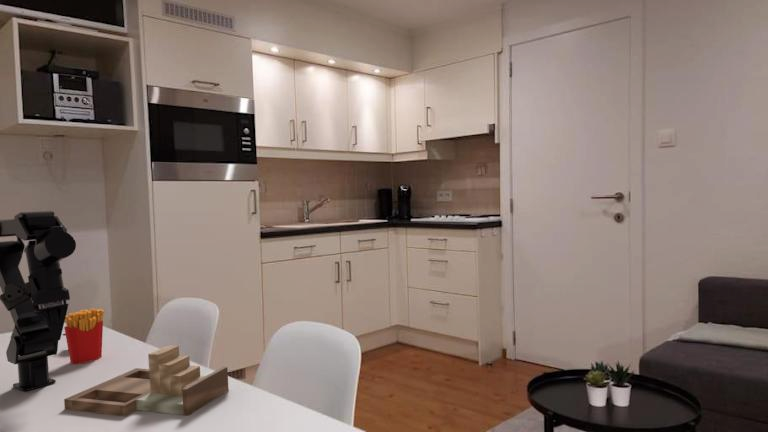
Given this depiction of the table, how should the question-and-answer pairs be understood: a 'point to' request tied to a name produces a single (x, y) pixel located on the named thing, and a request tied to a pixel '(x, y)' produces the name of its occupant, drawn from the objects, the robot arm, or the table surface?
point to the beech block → (171, 371)
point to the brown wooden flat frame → (147, 395)
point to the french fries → (84, 335)
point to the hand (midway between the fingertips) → (57, 340)
